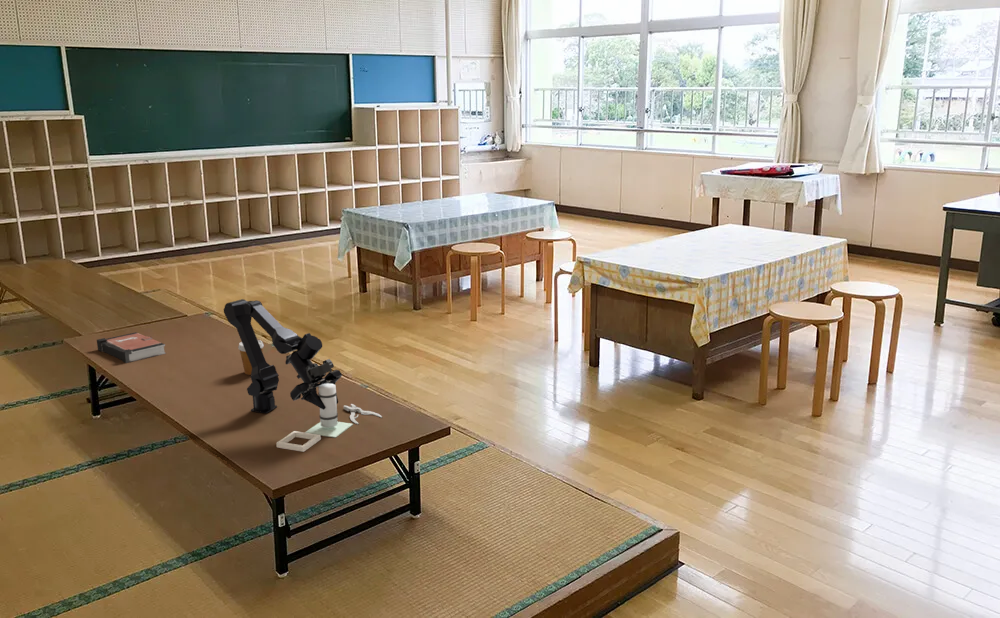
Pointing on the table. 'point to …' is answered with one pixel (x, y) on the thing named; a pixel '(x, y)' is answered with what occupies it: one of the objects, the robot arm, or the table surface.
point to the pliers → (355, 409)
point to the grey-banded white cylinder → (328, 405)
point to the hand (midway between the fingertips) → (331, 406)
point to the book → (131, 347)
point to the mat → (329, 429)
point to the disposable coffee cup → (245, 359)
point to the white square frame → (313, 437)
